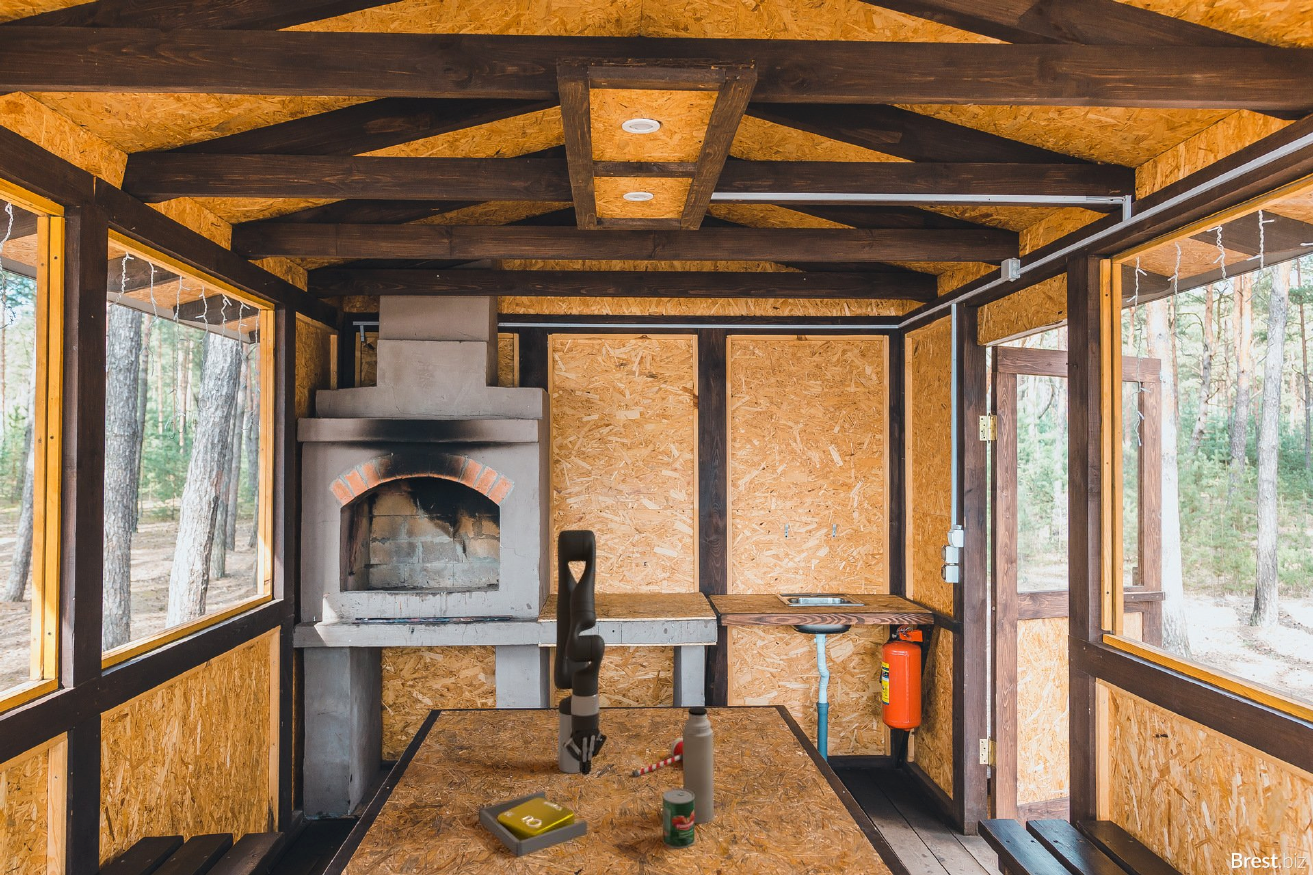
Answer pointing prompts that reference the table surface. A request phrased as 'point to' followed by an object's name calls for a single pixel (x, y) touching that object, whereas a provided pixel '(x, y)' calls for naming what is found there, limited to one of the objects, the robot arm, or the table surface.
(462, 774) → the table surface
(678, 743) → the toy hammer
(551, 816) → the element tile
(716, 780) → the table surface
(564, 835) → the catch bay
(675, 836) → the canned tomato
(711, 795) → the thermos bottle
